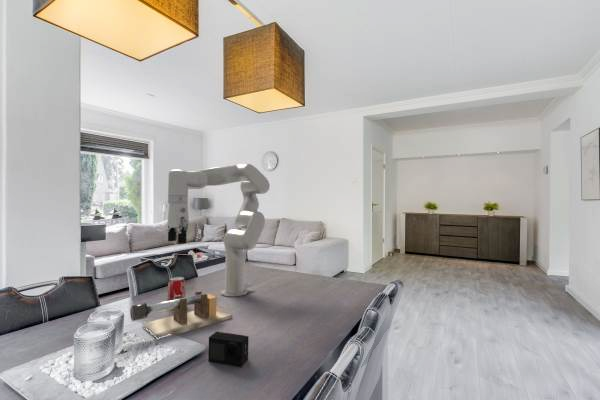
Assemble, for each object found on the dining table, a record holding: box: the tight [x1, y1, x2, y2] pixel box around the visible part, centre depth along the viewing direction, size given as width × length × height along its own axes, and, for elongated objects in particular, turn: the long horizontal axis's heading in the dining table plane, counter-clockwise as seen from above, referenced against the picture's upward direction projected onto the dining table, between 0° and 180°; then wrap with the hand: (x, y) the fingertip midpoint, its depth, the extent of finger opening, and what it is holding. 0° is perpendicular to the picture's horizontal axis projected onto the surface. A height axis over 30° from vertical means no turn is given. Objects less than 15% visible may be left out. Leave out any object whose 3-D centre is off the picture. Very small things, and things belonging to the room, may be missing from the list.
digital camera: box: [208, 331, 249, 368], centre depth 84 cm, size 10×5×7 cm, turn 75°
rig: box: [142, 290, 233, 338], centre depth 112 cm, size 28×14×10 cm, turn 135°
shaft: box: [129, 294, 201, 322], centre depth 106 cm, size 24×5×5 cm, turn 135°
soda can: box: [167, 276, 186, 301], centre depth 128 cm, size 7×7×12 cm
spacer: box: [206, 292, 218, 317], centre depth 117 cm, size 3×7×7 cm, turn 45°
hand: (176, 242), depth 122 cm, fingers open, 9 cm apart
